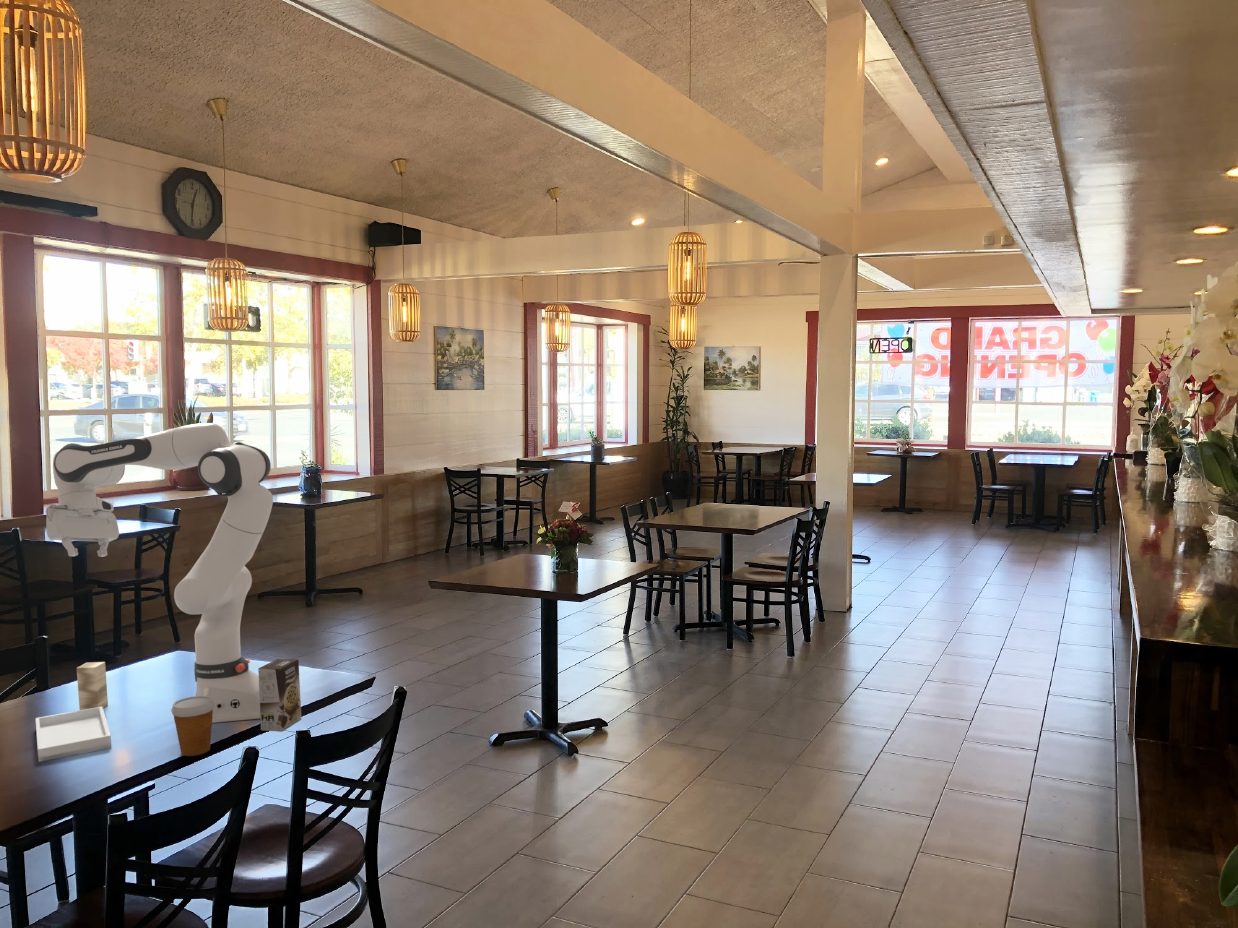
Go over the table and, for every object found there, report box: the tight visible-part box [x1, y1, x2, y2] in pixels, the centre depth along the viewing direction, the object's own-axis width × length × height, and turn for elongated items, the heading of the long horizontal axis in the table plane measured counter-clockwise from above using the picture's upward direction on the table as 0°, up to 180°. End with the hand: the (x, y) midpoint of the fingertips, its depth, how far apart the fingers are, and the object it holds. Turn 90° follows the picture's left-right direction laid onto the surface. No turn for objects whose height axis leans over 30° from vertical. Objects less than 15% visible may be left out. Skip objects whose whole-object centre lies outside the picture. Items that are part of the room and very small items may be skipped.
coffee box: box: [257, 658, 302, 733], centre depth 239 cm, size 9×6×16 cm
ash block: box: [76, 661, 109, 710], centre depth 256 cm, size 5×5×12 cm
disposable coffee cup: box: [170, 695, 215, 757], centre depth 223 cm, size 10×10×12 cm
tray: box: [35, 706, 112, 763], centre depth 234 cm, size 26×15×3 cm, turn 33°
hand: (88, 555), depth 250 cm, fingers open, 8 cm apart
